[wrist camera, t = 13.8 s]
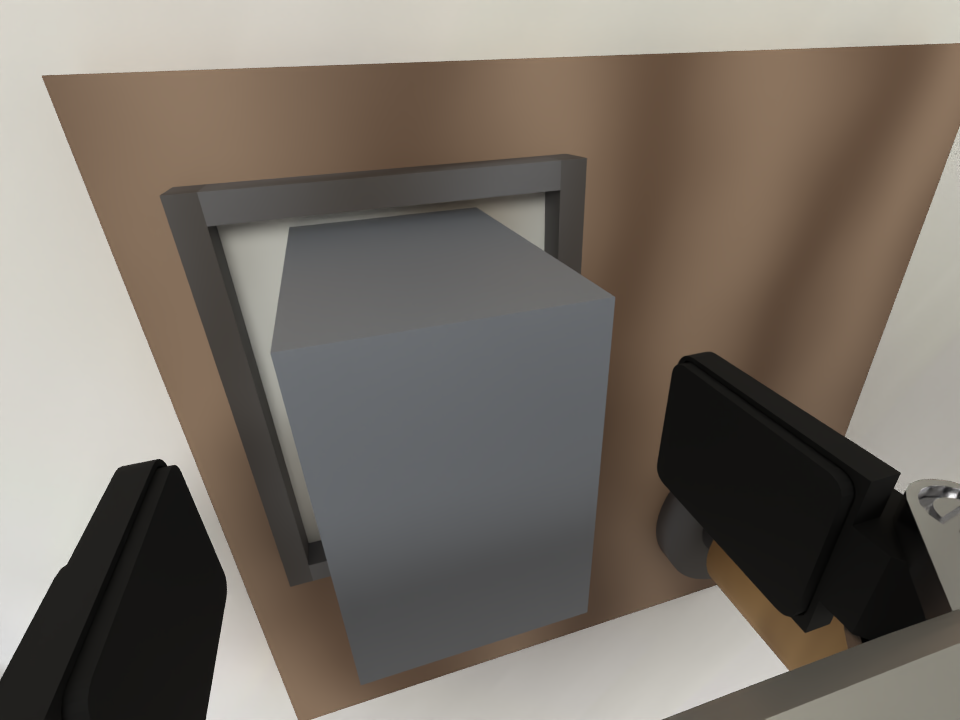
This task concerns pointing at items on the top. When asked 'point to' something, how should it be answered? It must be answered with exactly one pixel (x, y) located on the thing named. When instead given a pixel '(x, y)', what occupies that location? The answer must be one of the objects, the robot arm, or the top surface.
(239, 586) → the top surface
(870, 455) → the robot arm
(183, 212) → the winding board
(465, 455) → the gray rectangular block
